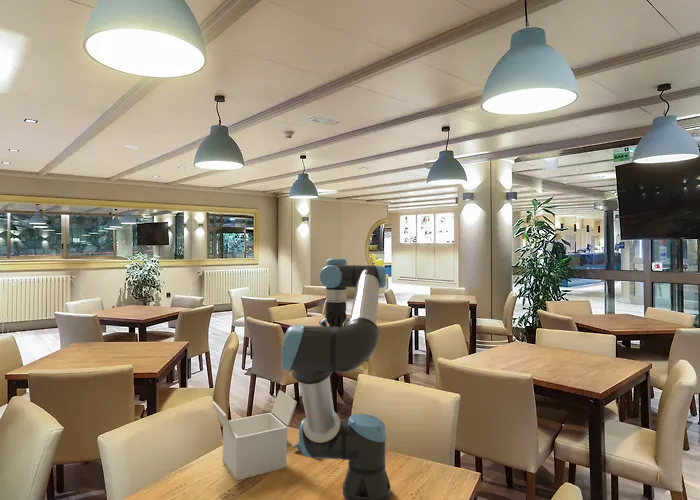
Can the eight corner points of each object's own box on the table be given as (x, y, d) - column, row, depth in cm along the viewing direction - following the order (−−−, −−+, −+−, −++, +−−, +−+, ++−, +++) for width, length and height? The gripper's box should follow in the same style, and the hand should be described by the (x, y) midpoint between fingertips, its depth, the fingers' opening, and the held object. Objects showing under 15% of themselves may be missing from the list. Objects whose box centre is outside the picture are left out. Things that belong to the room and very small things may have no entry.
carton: (286, 466, 153) (287, 427, 153) (236, 480, 144) (236, 438, 144) (269, 449, 167) (270, 412, 167) (222, 460, 157) (223, 421, 157)
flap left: (226, 414, 142) (224, 415, 142) (235, 437, 144) (233, 438, 144) (213, 401, 155) (212, 401, 155) (222, 421, 157) (220, 422, 157)
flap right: (287, 425, 154) (288, 426, 154) (295, 401, 155) (297, 402, 156) (271, 411, 167) (272, 412, 167) (279, 390, 168) (280, 390, 169)
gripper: (346, 299, 166) (345, 361, 166) (315, 300, 159) (314, 365, 159) (356, 301, 159) (355, 365, 159) (325, 302, 152) (324, 370, 152)
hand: (335, 365), depth 159 cm, fingers closed
